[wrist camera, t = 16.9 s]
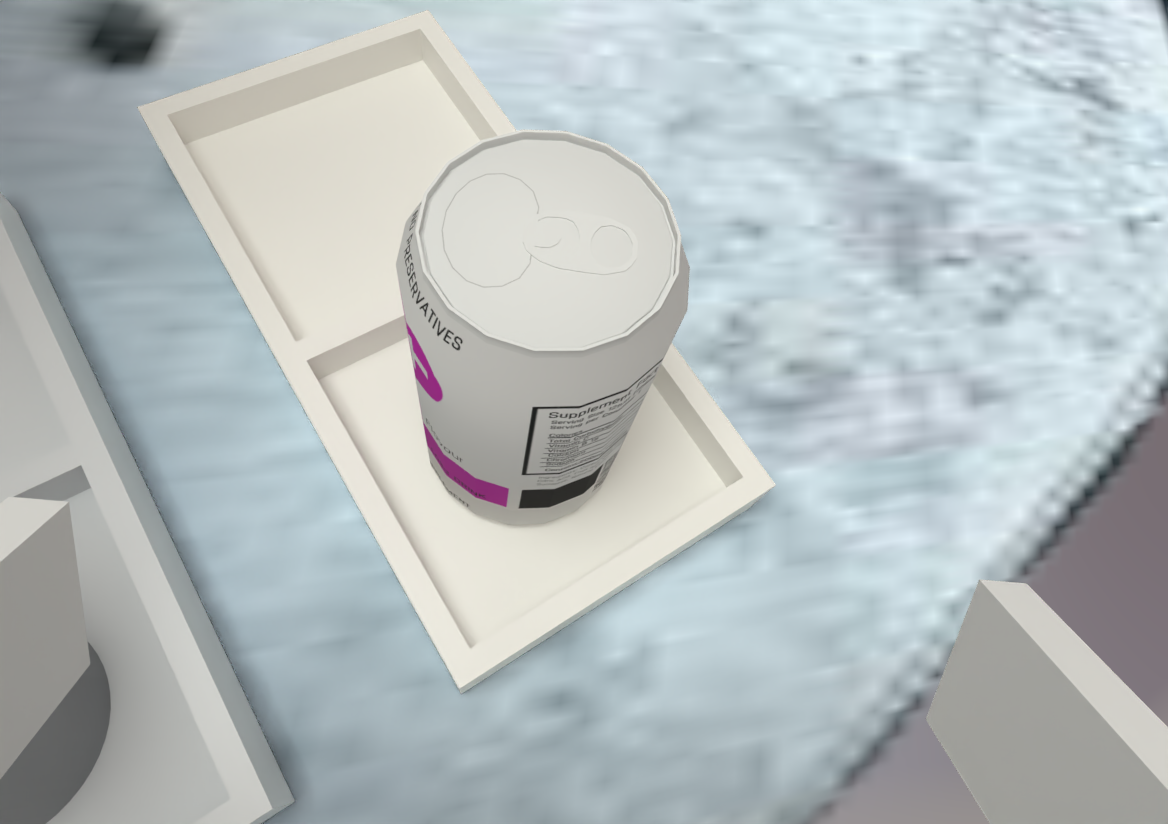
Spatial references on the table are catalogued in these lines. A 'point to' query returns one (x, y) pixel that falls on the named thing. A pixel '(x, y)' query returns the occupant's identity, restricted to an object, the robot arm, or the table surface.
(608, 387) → the supplement can
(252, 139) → the tray
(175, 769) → the tray
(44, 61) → the table surface
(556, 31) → the table surface
